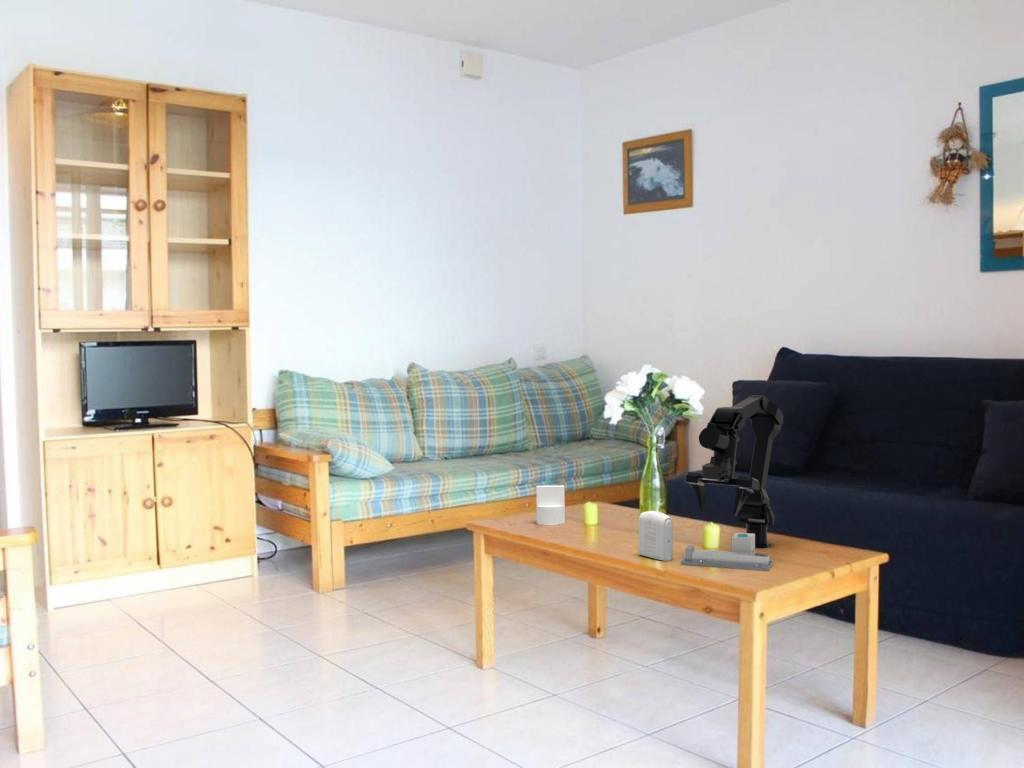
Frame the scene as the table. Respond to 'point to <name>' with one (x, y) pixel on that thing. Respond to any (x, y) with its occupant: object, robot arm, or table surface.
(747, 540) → the module
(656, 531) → the photo printer
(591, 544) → the table surface
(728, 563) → the rail panel
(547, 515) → the cylinder with rectangular tab
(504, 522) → the table surface
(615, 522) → the table surface
